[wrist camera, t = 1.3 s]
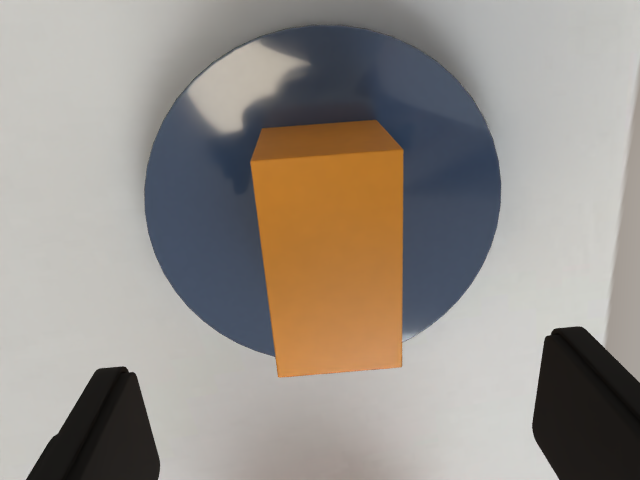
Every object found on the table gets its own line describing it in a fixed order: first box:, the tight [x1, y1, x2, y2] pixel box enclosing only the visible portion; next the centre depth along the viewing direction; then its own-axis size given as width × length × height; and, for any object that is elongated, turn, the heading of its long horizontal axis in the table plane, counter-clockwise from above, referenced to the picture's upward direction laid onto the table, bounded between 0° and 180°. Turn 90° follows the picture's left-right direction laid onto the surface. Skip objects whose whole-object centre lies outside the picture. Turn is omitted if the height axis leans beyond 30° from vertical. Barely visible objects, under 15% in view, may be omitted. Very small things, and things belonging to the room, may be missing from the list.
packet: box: [250, 120, 403, 377], centre depth 18 cm, size 8×4×5 cm, turn 4°
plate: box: [144, 25, 501, 357], centre depth 21 cm, size 15×15×2 cm
